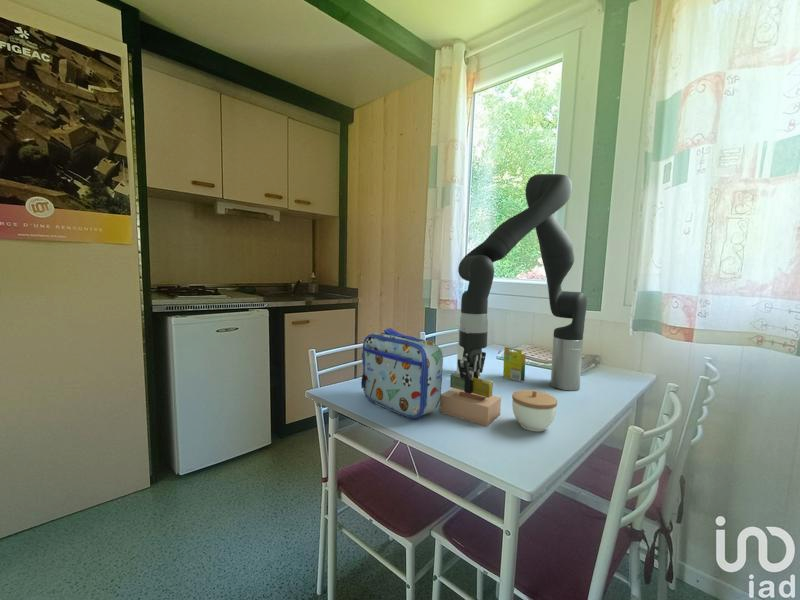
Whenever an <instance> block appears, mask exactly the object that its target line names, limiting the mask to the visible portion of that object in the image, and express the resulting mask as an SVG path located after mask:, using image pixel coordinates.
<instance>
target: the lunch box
mask: <svg viewBox="0 0 800 600" xmlns="http://www.w3.org/2000/svg"><path fill="white" fill-rule="evenodd" d="M443 355H444V354H443V351H442V349H441V348H440V346H439V345H438V344H436V343H434V342H432V341H429V340H425V339H422V338H417V337H415V336H410V335H404V334H402V333H400V332H397V331H396V330H394V329H393V328H392V327H389V328H386V329H384V330H383V332H381V333H376V332H375V333H371V334H368V335H367V336H365V338H364V340H363V344H362V353H361V357H360V358H361V359H362V360H361V361H362V364H363V365H362V375H361V389H363V393H364V395H365V397H366V399H368V400H369V401H370V402H371V403H374V404H376V405H378V406H380V407H383V408H384V409H387V410H388V411H390V412H394V413H396V414H399V415H400V416H401V415H402V416H405V417H407V418H409V419H410V418H411V419H420V417H422V416H424V415H427V414H432V413H435V412H436V411H438V409H440V399H441V394H442V384H443V383H442V380H443V365H444V356H443Z"/></svg>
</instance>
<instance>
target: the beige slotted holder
mask: <svg viewBox="0 0 800 600" xmlns="http://www.w3.org/2000/svg"><path fill="white" fill-rule="evenodd" d="M501 407H502V397H501V396H498V395H493V394H492V396H491V397H489V398H487V397H484V396H480V395H477V394H473V393H471V394H469V393H466V392H465V391H463V390H459V389H456V388H452V387H451V388H450V389H448V390H447V391H445V392H443V393H441V399H440V405H439V413H440V414H445V415H448V416H451V417H455V418H458V419H463V420H465V421H469V422H471V423H476V424H479V425H483V426H486V427H488V426H490V425H491V424H492V423H493V422H494V421H495V420H496V419H498V418H499V417H500V416H501V410H502V409H501Z"/></svg>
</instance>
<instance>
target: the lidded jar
mask: <svg viewBox="0 0 800 600" xmlns="http://www.w3.org/2000/svg"><path fill="white" fill-rule="evenodd" d="M511 395H512V396H511V397H512V402H511V403H512V405H511V406H512V411H513V415H514V418H515V419H516V421H517V422H518V423H519V424H520V427H522V428H523V429H525V430H527V431H530V432H544V431H545V430H546V429H547V428H548V427H549V426H551V425H552V423H553V422H554V420H555V417H556V412H557V405H558V399H557V398H556V397H555V396H553V395H551V394H549V393H546V392H543V391H537V390H535V389H534V390H533V389H532V390H530V389H521V390H517V391H514V392H513V393H512V394H511Z"/></svg>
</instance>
